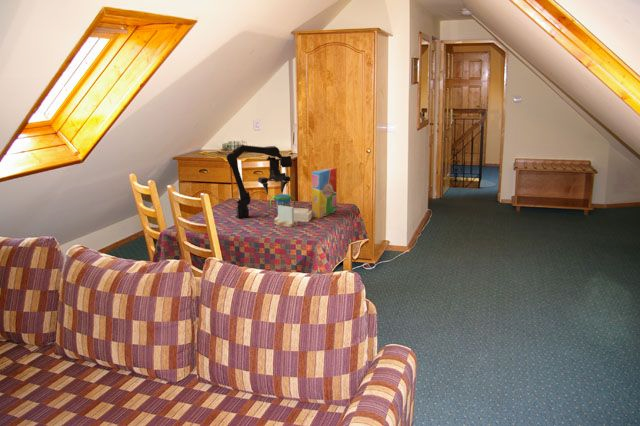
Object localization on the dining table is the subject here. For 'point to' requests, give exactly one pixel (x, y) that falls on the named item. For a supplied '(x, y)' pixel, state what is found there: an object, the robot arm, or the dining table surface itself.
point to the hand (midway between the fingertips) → (274, 193)
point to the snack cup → (282, 200)
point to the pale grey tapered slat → (286, 214)
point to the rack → (301, 215)
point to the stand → (286, 223)
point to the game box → (324, 192)
